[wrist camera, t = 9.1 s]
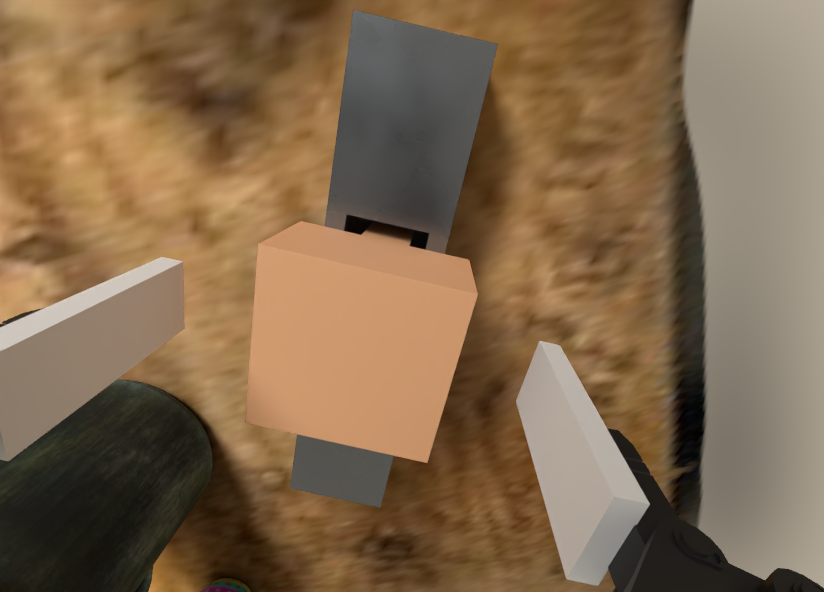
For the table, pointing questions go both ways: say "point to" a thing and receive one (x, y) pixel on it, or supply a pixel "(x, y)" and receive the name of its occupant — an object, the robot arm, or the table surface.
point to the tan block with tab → (356, 337)
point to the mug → (101, 493)
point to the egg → (226, 586)
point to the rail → (396, 180)
